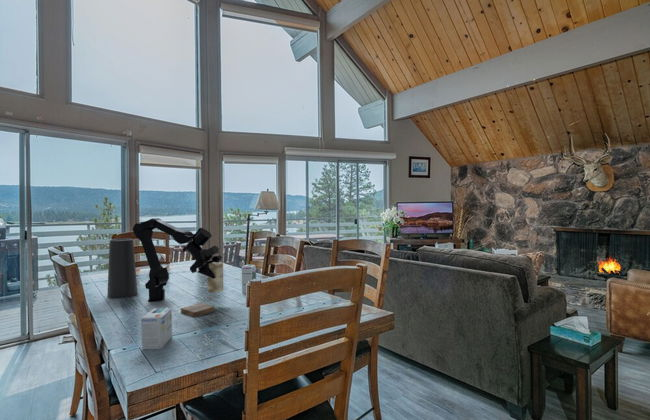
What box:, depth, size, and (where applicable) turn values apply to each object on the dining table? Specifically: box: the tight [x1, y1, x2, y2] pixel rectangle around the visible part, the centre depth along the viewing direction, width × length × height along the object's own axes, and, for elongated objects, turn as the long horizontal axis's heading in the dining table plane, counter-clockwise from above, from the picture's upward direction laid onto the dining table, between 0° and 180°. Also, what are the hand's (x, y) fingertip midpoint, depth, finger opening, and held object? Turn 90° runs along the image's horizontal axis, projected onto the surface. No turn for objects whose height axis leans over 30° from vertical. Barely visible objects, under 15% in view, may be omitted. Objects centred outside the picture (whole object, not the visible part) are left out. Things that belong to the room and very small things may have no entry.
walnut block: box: [180, 302, 215, 318], centre depth 159 cm, size 10×10×2 cm
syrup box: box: [241, 264, 257, 295], centre depth 191 cm, size 6×6×14 cm
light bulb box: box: [140, 307, 173, 350], centre depth 124 cm, size 11×7×11 cm, turn 5°
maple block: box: [207, 262, 224, 294], centre depth 169 cm, size 5×5×13 cm
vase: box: [106, 237, 138, 299], centre depth 187 cm, size 14×14×29 cm
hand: (218, 276), depth 168 cm, fingers closed on maple block, 5 cm apart
